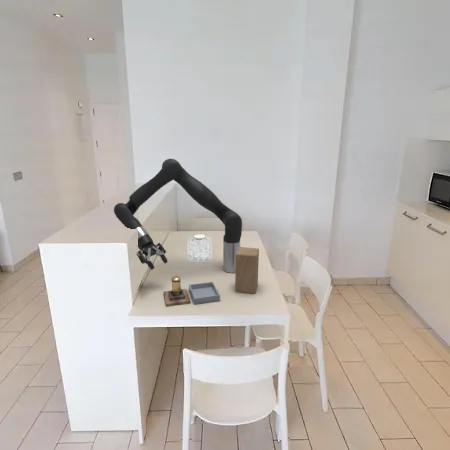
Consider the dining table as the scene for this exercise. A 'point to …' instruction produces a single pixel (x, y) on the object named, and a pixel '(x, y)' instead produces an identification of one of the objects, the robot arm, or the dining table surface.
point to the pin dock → (176, 298)
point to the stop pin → (176, 286)
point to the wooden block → (246, 270)
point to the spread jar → (199, 237)
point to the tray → (204, 293)
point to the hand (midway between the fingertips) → (159, 265)
